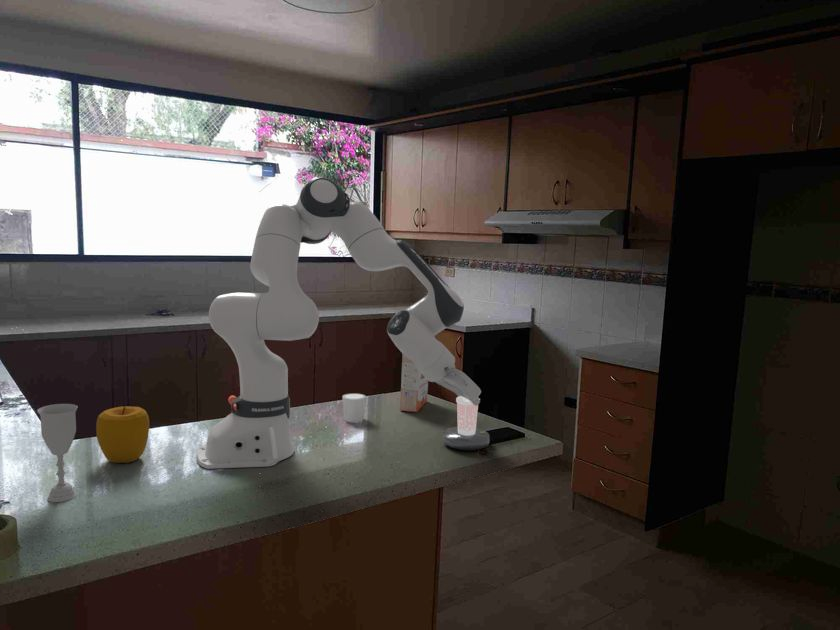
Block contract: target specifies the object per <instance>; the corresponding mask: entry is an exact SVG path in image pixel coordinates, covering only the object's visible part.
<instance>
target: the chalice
mask: <svg viewBox="0 0 840 630" xmlns="http://www.w3.org/2000/svg"><path fill="white" fill-rule="evenodd" d="M78 407H79V406H78V405H76V404H75V403H74V404H72V403H55V404H49V405H44V406H42V407H39V408H38V409H37V411H36V412H37V413H38V414H39V416H40V428H41V429H40V433H41V437H42V439H43V442H44V443H45V445H46V446H47V448H48V450H49V451H50V453H51V454H52V455H53V456H56V457H57V460H56V461H57V462H56V463H55V466H56V467H57V472H56V473H55V475H56V476H57V477H58V481H57V483H56V484H55V485H53V486H52V487H51V488H50V492H49V494H48V497H47V498H46V499H47V501H48V502H51V503H62V502H67V501H70V500H72V499H74V498H76V496H77V492H76V491H75V489H74V488H73V485H72V484H71V483H69V482H67V481H65V475H66V473H67V472H66V471H65V469H64V466H65V465H66V463H65V462H64V458H63V457H64V455H66V454H67V453H69V450H70V448H71V446H72V444H73V442H74V439H75V436H76V434H77V433H76V432H77V421H76V419H77V418H76V412H77V410H78Z"/></svg>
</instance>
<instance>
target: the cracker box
mask: <svg viewBox="0 0 840 630" xmlns="http://www.w3.org/2000/svg"><path fill="white" fill-rule="evenodd" d="M401 354H402V360H401V361H402V362H401V380H400V381H401V384H400V406H399V407H400V408H399V411H401V412H402V411H403V412H408V413H409V412H410V413H418V412H419V411H420V410H421V409H422V407H423V406H424V405H425V404H426V403H427V401H428V390H429V381H428V380H427V379H426V378H425V377H424V376H423V375H422V373H421V372H420V371H419V370H418V369H417V368H416V367H415V365H414V363H413V362H412V361H411V360H410V359H408V358H406V357H405V356H404V354H403V353H401Z"/></svg>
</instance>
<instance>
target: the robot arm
mask: <svg viewBox="0 0 840 630" xmlns="http://www.w3.org/2000/svg"><path fill="white" fill-rule="evenodd" d="M331 233H334V234H336V236H338V237H339V238H340V239H341V241H343V244H344V245H345V247H346V249H347V250H348V252H349V254H350V256H351V257H352V259H353V260H354V261H355V263H356V264H357V266H358V267H360V268H361V269H363V270H365V271H369V272H383V271H387V270H391V269H394V268H400V267H405V268H407V269H409V270H410V271H411V272H412V273H413V275H414V276H415V277H416V278H417V280H419V281H420V282H421V284H422V285H423V286H424V288H426V289H427V294H426V295H425V296H424V297H422V298H421V299H420V300H418V301H416V302H415V303H414V304H412V305H410V306H409V307H407V308H406V309H403V310H400V311H398V312H396V313H395V314H394V315H393V316H391V318H390V319H389V320H388V323H387V327H386V332H387V334H388V336H389V338H390V339H391V341H392V343H393V344H394V346H395V347H396V348H397V349H398V350H399V351H400V352H401V354H404V356H405V357H406V358H408V359H410V360H411V361H412V362H413V363H414V365H415V367H416V368H417V369H418V370H419V371H420V372H421V373H422V375H423V376H424V377H425V378H426V379H427V380H428V382H431V383H436V384H437V385H439V386H441V387H443V388H445V389H447V390H449V391H450V392H452V393H454V394H456V396H457V397H459V396H462V397H464V398H466V399H468V400H469V401H470V402H471V403H472V404H473V405H475V406H477V405H478V406H479V404H480V403H481V399H480V398H479V396H480V395H481V393H482V390H481V388H480V387H479V386H478V384H477V383H475V382H474V381H473V380H472V379H471V378H470V377H469V376H468V375H467V374H466V373H465V372H463V371H462V370H459V369H457V368H456V365H455V363H456V357H455V356H454V355H453V354H452V352H451V351H450V350H448V348H447V347H446V346H445V345H444V344H443V343H442V342H441V341H440V340H438V339H436V337H435V336H436V335H438V334H439V333H441V332H442V331H443V330H445V329H447V328H450V327H451V326H454V325H455V324H457V323H459V322H460V321H461V319H462V316H463V313H464V311H465V310H464V308H465V307H464V303H463V301H462V299H461V297H460V296H459V295H458V293H456V291H454V290H453V289H452V288H451V287H450V286H449V285H448V284H447V283H446V282H445V281H444V280H443V279H442V278H441V277H440V275H438V273H437V272H435V270H434V269H433V267H431V266H430V264H429V263H428V262H427V261H426V260H425V259H424V258H423V257H422V256H421V254H419V252H418V251H416V250H415V248H414V247H412V245H410V244H409V243H408V242H406V241H404V240H402V239H397V240H396V239H395V238H393V237H392V236H391V235H389V234H388V233H387V231H386V229H385V228H384V226H383V225H382V223H381V222H380V220H379V219H378V218H377V216H376V215H375V213H373V212H372V211H371V210H370V209H369V208H368V206H367V205H365V204H364V203H362V202H360V201H359V202H358V201H352V202H351V200H350V197H349V195H348V194H347V193H346V192H344V191H343V190H342V188H341V187H340V186H339V185H338V184H337V183H336V182H335V181H333V180H332V179H330V178H328V177H324V176H315V177H313V178H311V179H309V180H308V181H307V182H306V183H305V184H304V186H302V189H301V191H300V194H299V197H298V200H297V201H296V204H294V205H288V204H283V203H276V204H273V205H271V206H269V207H267V209H266V210H265V211H264V213H263V215H262V218H261V220H260V223H259V226H258V228H257V232H256V235H255V239H254V244H253V249H252V255H251V259H250V264H249V267H250V271H251V274H252V276H253V277H254V278H255V279H256V280H257V281H258V282H260V283H261V284H263V285H265V286H266V287H267V286H268V288H269V289H268V291H267V292H246V291H245V292H244V291H243V292H242V291H241V292H239V291H238V292H237V291H236V292H229V293H224V294H220V295H218V296H216V297H214V300H213V301H212V302H211V304H210V306H209V310H208V322H209V325H210V326H211V328H212V330H213V331H214V333H216V335H218V336H219V337H220V338H222V339H223V341H225V343H227V345H228V346H229V347H230V348H231V351H232V353H233V354H234V356H235V359H236V362H237V365H238V372H239V387H240V389H239V391H240V392H239V396H237V397H236V395H230V396H229V397H228V399H227V401H228V403H229V404H230V406H231V413H230V414H228V415H226V417H224V418H223V419H222V420H219V421H218V422H217V423H216V424H215V425H213V426H212V427H211V429H210V431H209V433H208V435H207V441H206V444H205V445H202V446H200V448H199V449H198V450H197V452H196V453H197V454H196V460H197V463H198V464H199V466H200V467H203V468H204V469H207V470H209V469H210V470H211V469H233V468H234V469H235V468H238V469H239V468H259V467H261V468H262V467H272V466H275V465H277V464H278V463H279V462H280V461H282V460H286V459H288V458H289V457H292V456H293V455H294V453H295V448H294V444H293V440H292V436H291V430H290V422H289V419H290V414H291V399H290V395H289V393H288V392H289V387H288V386H289V382H288V380H289V379H288V377H289V375H288V374H289V372H288V371H289V368H288V365H287V363H286V361H285V360H284V359H283V358H282V357H281V356H279V355H277V354H276V353H274V352H272V351H271V350H270V349H269V348H268V346H267V345H266V343H265V340H266V341H267V340H268V341H288V342H291V341H297V340H299V341H300V340H304V339H309V338H311V337H312V335H313V334H314V333H315V332H316V330H317V328H318V325H319V322H320V313H319V309H318V307H317V305H316V303H315V302H314V301H313V299H311V298H310V297H309V295H307V294H306V293H305V292H304V291H303V289H302V288H301V286H300V284H299V280H298V265H299V264H298V262H299V256H300V249H301V244H302V243H304V244H307V245H308V244H309V245H317V244H320V243H323V242H324V241H326V240H327V239H328V238H329V237H330V235H331ZM478 398H479V399H480V400H479V399H478Z"/></svg>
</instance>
